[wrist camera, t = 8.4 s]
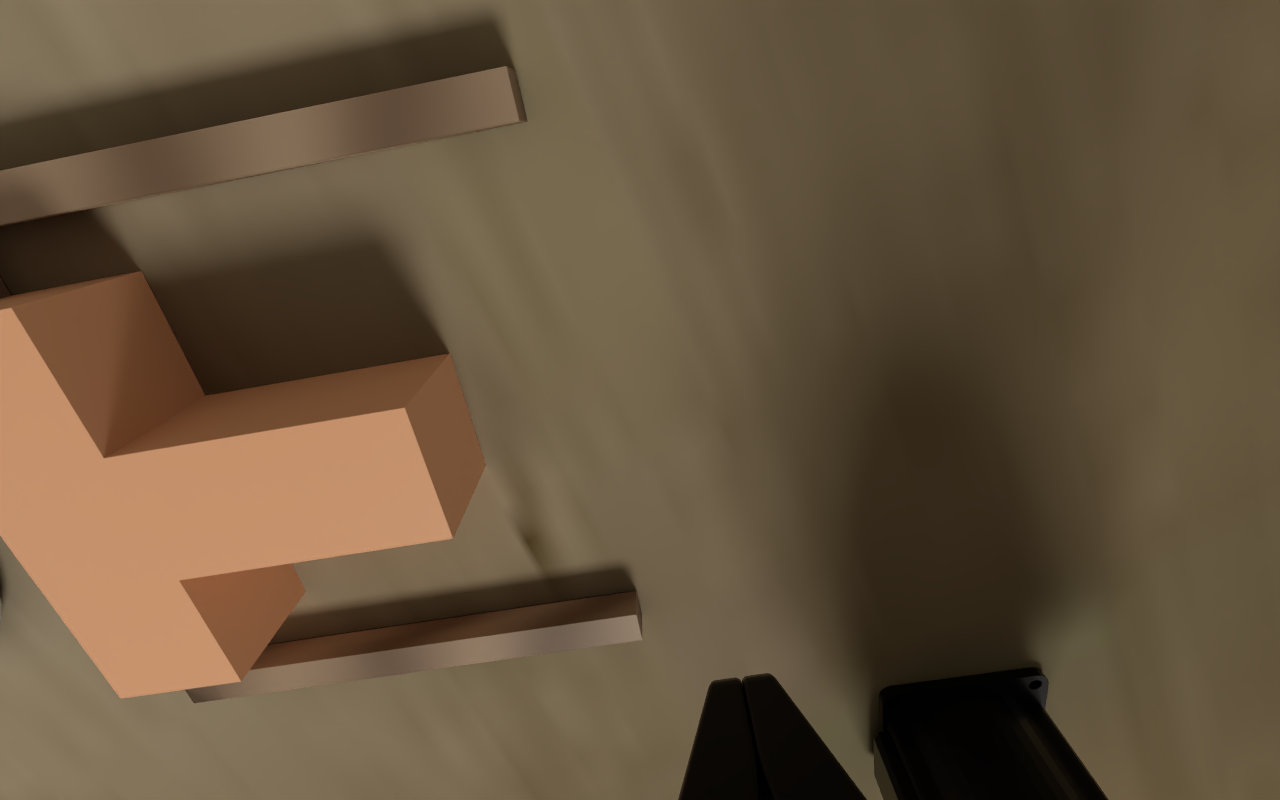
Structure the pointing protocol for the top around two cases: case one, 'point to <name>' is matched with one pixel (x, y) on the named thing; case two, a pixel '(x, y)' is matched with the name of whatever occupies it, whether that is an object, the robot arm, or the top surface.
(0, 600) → the plastic bottle
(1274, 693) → the top surface
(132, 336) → the t puck
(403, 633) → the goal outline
